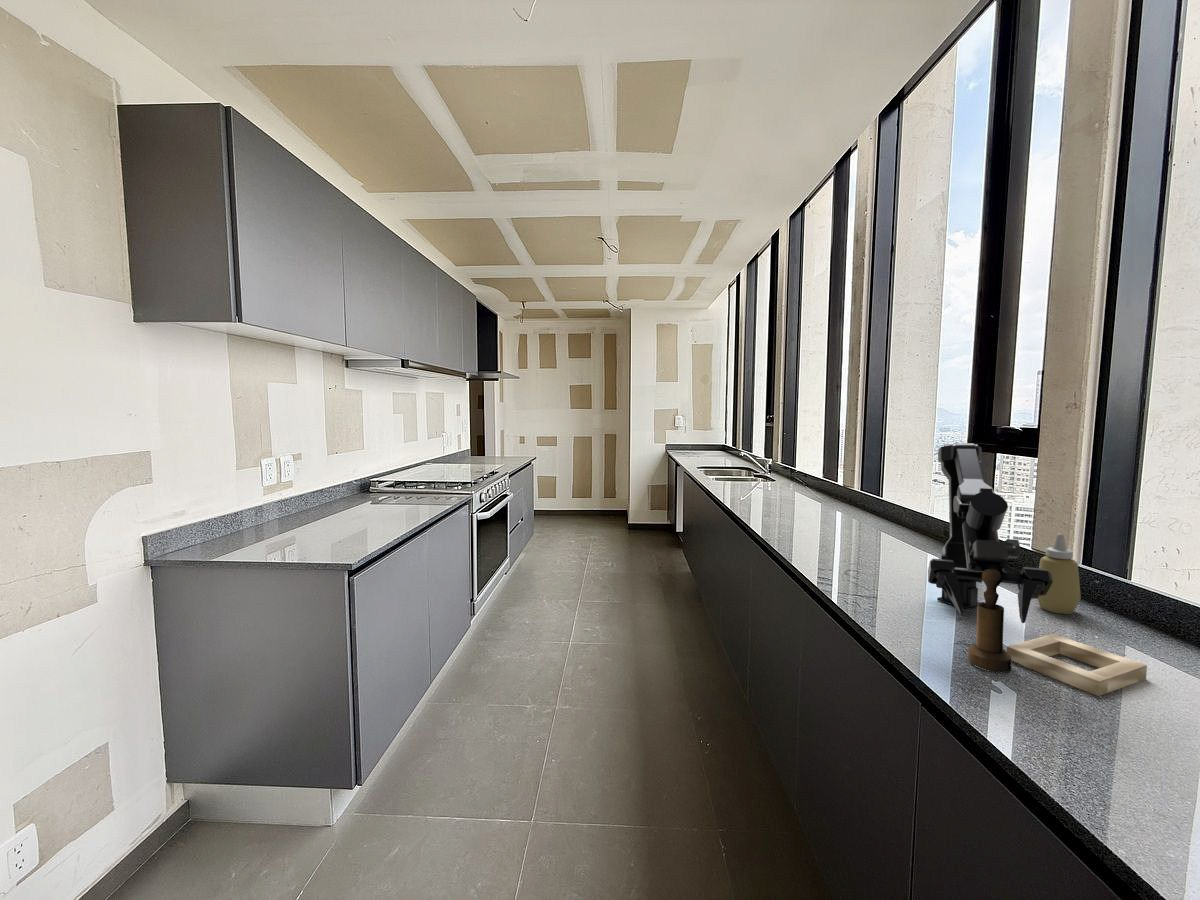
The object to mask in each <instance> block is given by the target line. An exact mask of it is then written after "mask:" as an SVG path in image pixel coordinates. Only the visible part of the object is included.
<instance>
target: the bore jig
mask: <svg viewBox="0 0 1200 900" xmlns="http://www.w3.org/2000/svg"><path fill="white" fill-rule="evenodd" d="M1006 652H1007V653H1009V654H1010V656H1011V660H1012V661H1011V662H1013V661H1015V662H1017V663H1019V664H1018V665H1020V664H1021V665H1020V666H1022V665H1023V667H1025V668H1027V667H1028V668H1027V669H1030V670H1032V669H1033V671H1035V672H1038V673H1040V674H1042V673H1043V675H1045V676H1047V675H1048V676H1047V677H1050V678H1052V679H1055V680H1058V681H1060V682H1063V683H1065V684H1068V685H1070V686H1073V687H1075V688H1078V689H1079V690H1081V691H1082V690H1083V691H1085V692H1086V693H1090V694H1092V695H1095V696H1097V697H1100V696H1102V695H1105V694H1108V693H1111V692H1114V691H1117V690H1119V689H1122V688H1125V687H1128V686H1130V685H1133V684H1136V683H1139V682H1142V681H1144V680H1147V673H1148V672H1147V671H1148V665H1147V664H1145V663H1143V662H1142V663H1141V662H1138V661H1135V660H1133V659H1129V658H1128V657H1127V658H1126V657H1123V656H1120V655H1118V654H1115V653H1111V652H1108V651H1105V650H1103V649H1099V648H1096V647H1094V646H1090V645H1088V644H1085V643H1081V642H1078V641H1076V640H1073V639H1070V638H1066V637H1064V636H1062V635H1058V634H1056V633H1052V634H1047V635H1044V636H1041V637H1036V638H1033V639H1029V640H1025V641H1021V642H1017V643H1015V644H1014V643H1013V644H1011V645H1007V646H1006ZM1059 654H1060V655H1062V656H1065V657H1068V658H1071V659H1073V660H1077V661H1078V662H1081V663H1084V664H1088V665H1090V666H1093V667H1095V668H1097V669H1093V670H1090V671H1089V670H1086V669H1084V668H1081V667H1078V666H1076V665H1074V664H1070V663H1067V662H1065V661H1062V660H1060V659H1058V658H1054V657H1052V656H1055V655H1059ZM1049 656H1050V657H1049ZM1015 662H1014V663H1015ZM1017 663H1016V664H1017Z"/></svg>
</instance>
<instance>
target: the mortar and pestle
mask: <svg viewBox="0 0 1200 900" xmlns="http://www.w3.org/2000/svg"><path fill="white" fill-rule="evenodd" d="M982 579H983V581H982V582H984V585H985V586H986V590H985V591H984V592H983V599H984V601H985V602H980V603H978V604H977V607H976V613H977V614H976V615H977V616H976V643H973V644H972V645H969V646H968V647H967V661H968V660H969V661H970V662H971V663H972V664H974V665H976V666H978V667H980V668H983V669H986V670H989V671H988V672H991V671H993V673H1000V672H1003V673H1007V672H1010V671H1011V670H1012V661H1011V656H1010V654H1009V653H1007V650H1005V649H1004V647H1003V646H1004V644H1003V643H1004V620H1005V616H1004V615H1005V607H1004V606H1002V605H1000V604H997V603H998V599H999V596H1000V594H999V593H997V588H998V587H999V586H1000V584H1001V582H1002V575H1001V573H1000V572H999V571H997V570H994V569H986V570H985V571H984V572H983V573H982ZM969 661H968V662H969ZM970 662H969V663H970ZM971 663H970V664H971ZM972 664H971V665H972ZM974 665H973V666H974ZM976 666H975V667H976ZM978 667H977V668H978ZM980 668H979V669H980ZM983 669H982V670H983ZM986 670H985V671H986Z"/></svg>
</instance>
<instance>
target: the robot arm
mask: <svg viewBox="0 0 1200 900" xmlns="http://www.w3.org/2000/svg"><path fill="white" fill-rule="evenodd" d="M982 456H983V455H982V446H979V445H978V444H975V443H971V442H969V443H968V442H963V443H962V442H961V443H960V442H957V443H954V444H944V445H943V446H940V447H939V448H938V450H937V463H940V470H941V472H942V473H943V475H944V476H945V477H946V479H947V480H948V498H949V499H948V501H949V502H948V505H949V507H948V508H949V509H948V510H949V513H948V514H949V539H948V540H947V541H946V542H945V544H944V546H943V547H942V553H940V554H939V558H932V559H931V560H930V561H929V564H928V569H927V582H928V583H930V584H931V585H935V587H936V588H938V589H941V596H940V597H937V601H940V602H943V603H945V604H947V605H951V606H954V607H955V609H956V610H957V612H958V614H959V615H960V616H963V615H964V609H967V608H971V607H976V606H977V604H978V603H981V602H980V601H978V598H979V596H978V594H979V588H978V587H977V583H980V584H981V583H983V582H984V581H983V579H982V573H983V572H984V571H985V570H986V569H994V570H997V571H999V572H1000V573H1001V575H1002V582H1001V583H1002V584H1012V585H1017V588H1018V589H1017V590H1018V593H1017V601H1018V602H1017V603H1018V604H1017V605H1018V613H1019V619H1020V622H1021V624H1025V623H1026V621H1027V617H1028V612H1029V608H1030V605H1031V601H1032V600H1033V599H1034V600H1035V599H1037V598H1038V597H1039V596H1043V595H1046V594H1047V592H1048V590H1049V588H1050V586H1051V585H1052V583H1053V580H1052V575H1051V573H1050V572H1049V571H1047V570H1046V569H1041V568H1039V567H1028V566H1022V568H1021V570H1020V572H1019V573H1017V572H1016V573H1014V572H1005V570H1004V569H1007V567H1008V561H1009V559H1018V558H1020V557H1021V545H1020V541H1019V539H1013V538H1012V539H1010V538H1007V539H1006V540H1004V541H1000V538H999V535H998V534H999V533H998V531H999V530H1000V529H1001V527H1002V524H1003V521H1004V519H1005V516H1006V513H1007V512H1008V511H1007V510H1008V507H1009V506H1008V502H1007V501H1006V499H1005V498H1003V497H1002V496H1001V495H999V494H998V493H995V490H994V488H993V487H992V486H990V485H988V484H987V483H985V481H984V477H983V473H982V468H981V463H982V458H983V457H982ZM1001 583H1000V584H1001Z"/></svg>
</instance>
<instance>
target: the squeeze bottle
mask: <svg viewBox="0 0 1200 900" xmlns="http://www.w3.org/2000/svg"><path fill="white" fill-rule="evenodd" d="M1073 554H1074V552H1073V550H1071V549H1069V548H1068V547H1067V544H1066V539H1065V535H1064V534H1063V533H1057V534H1056V536H1055V537H1054V541H1053V545H1052V547H1051V546H1049V547H1047V548H1045V556H1042V557H1041V558H1040V560H1039V565H1038V566H1039V567H1038V568H1041V569H1046V570H1047V571H1049V572H1050V573H1051V575H1052V580H1053V583H1052V585H1051V586H1050V588H1049V590H1048V592H1047V594H1046V595H1043V596H1039V597H1038V598H1036V599H1037V601H1038V603H1039V604H1038V605H1039V607H1040V608H1041V609H1043V610H1045V611H1048V612H1051V613H1056V614H1064V615H1070V614H1073V613H1074V611H1076V608H1077V607H1078V604H1079V603H1080V601H1081V599H1082V597H1081V587H1080V585H1081V584H1080V572H1079V563H1078V562H1077V561H1075V560H1074V558H1073Z"/></svg>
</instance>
